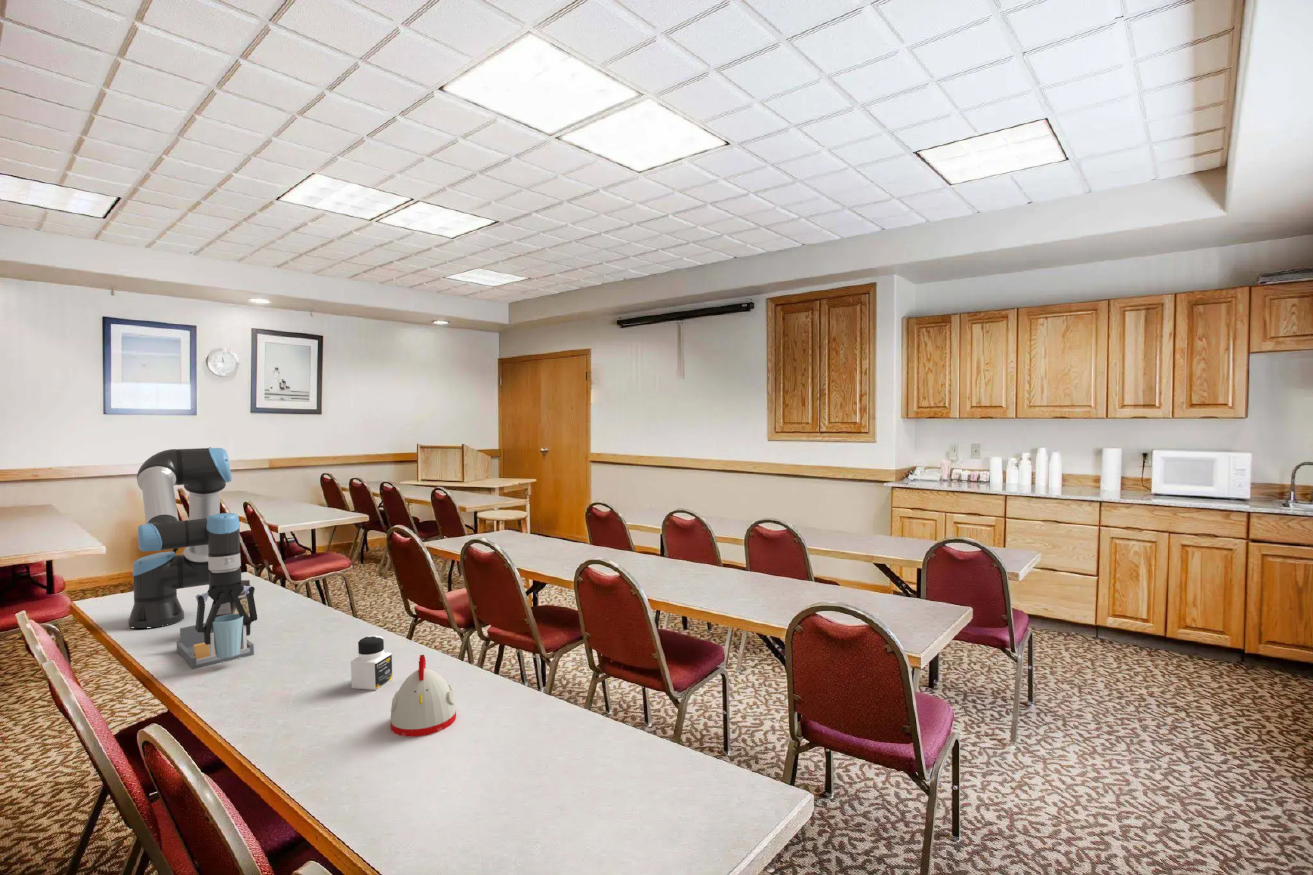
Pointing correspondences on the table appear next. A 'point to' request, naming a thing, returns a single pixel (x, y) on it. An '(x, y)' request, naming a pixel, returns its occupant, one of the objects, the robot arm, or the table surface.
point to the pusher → (202, 650)
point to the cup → (227, 635)
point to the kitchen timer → (422, 704)
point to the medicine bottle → (371, 664)
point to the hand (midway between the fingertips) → (228, 651)
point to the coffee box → (230, 607)
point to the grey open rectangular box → (193, 637)
